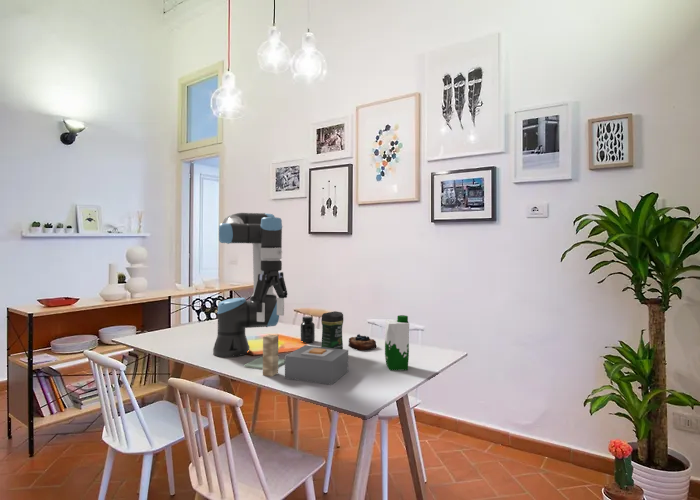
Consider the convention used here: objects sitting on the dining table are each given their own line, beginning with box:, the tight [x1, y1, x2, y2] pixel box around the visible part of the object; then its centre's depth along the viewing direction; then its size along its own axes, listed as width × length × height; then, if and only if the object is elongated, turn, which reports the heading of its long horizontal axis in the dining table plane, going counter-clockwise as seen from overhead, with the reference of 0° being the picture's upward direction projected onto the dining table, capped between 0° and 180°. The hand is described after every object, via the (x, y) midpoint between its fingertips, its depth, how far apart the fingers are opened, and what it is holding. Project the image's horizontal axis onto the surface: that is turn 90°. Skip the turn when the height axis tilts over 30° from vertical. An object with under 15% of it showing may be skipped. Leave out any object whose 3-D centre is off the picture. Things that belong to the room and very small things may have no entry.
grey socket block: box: [284, 344, 349, 386], centre depth 148 cm, size 18×16×8 cm
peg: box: [262, 334, 279, 377], centre depth 148 cm, size 4×4×14 cm
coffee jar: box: [320, 310, 344, 349], centre depth 174 cm, size 10×8×19 cm
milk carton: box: [384, 314, 410, 371], centre depth 157 cm, size 9×9×20 cm
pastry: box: [348, 333, 377, 352], centre depth 188 cm, size 11×12×6 cm
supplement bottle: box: [300, 316, 316, 344], centre depth 197 cm, size 7×7×12 cm
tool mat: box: [243, 356, 285, 370], centre depth 160 cm, size 12×12×1 cm
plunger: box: [309, 348, 326, 354], centre depth 148 cm, size 4×4×5 cm
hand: (270, 318), depth 148 cm, fingers open, 13 cm apart
